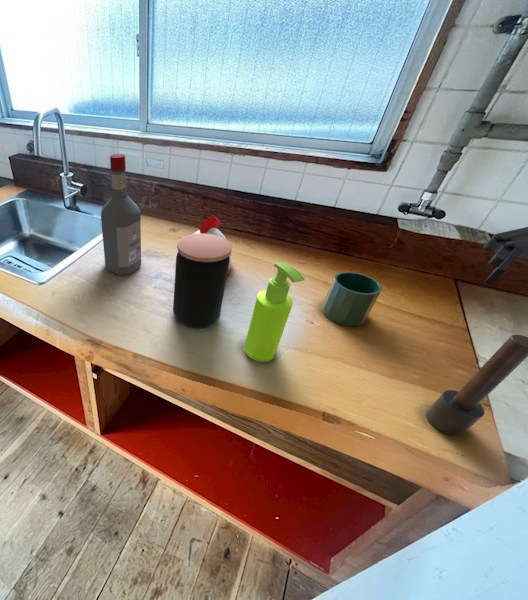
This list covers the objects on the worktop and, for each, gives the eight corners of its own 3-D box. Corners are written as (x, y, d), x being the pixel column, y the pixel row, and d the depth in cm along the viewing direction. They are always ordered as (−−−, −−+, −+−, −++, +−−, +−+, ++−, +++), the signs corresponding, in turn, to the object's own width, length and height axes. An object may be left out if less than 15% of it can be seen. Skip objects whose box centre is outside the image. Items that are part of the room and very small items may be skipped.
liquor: (145, 264, 93) (145, 154, 75) (124, 278, 88) (118, 162, 70) (122, 255, 98) (116, 149, 80) (101, 267, 93) (89, 157, 75)
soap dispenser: (256, 368, 61) (284, 281, 49) (238, 343, 66) (258, 259, 54) (284, 362, 62) (317, 275, 50) (264, 338, 67) (289, 254, 55)
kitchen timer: (170, 266, 92) (172, 216, 83) (200, 250, 99) (205, 202, 90) (210, 286, 83) (218, 233, 74) (239, 266, 90) (250, 215, 81)
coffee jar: (228, 312, 74) (242, 242, 64) (203, 337, 68) (213, 264, 57) (189, 295, 80) (196, 228, 69) (163, 316, 74) (166, 246, 63)
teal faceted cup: (373, 318, 71) (391, 286, 66) (348, 331, 68) (364, 299, 63) (337, 298, 77) (351, 268, 72) (313, 309, 74) (325, 278, 69)
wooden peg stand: (470, 427, 50) (560, 346, 39) (454, 441, 48) (542, 360, 38) (435, 404, 54) (508, 323, 43) (418, 416, 52) (490, 335, 41)
